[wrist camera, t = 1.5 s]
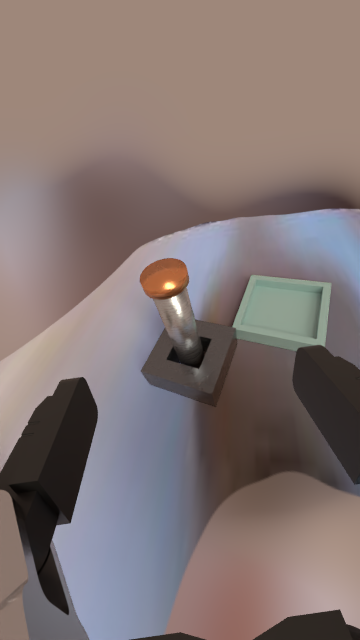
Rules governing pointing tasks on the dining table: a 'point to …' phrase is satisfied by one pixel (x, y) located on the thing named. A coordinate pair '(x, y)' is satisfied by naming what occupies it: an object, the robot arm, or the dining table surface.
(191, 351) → the pin
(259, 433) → the dining table surface
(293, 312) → the tray
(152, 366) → the block
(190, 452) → the dining table surface
